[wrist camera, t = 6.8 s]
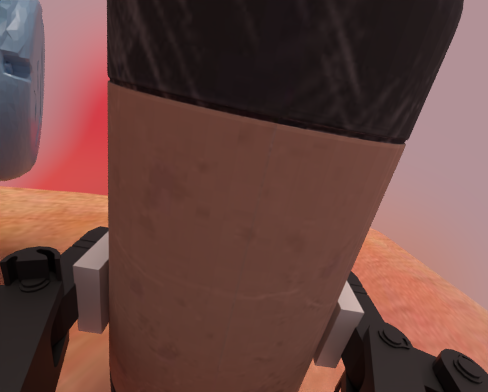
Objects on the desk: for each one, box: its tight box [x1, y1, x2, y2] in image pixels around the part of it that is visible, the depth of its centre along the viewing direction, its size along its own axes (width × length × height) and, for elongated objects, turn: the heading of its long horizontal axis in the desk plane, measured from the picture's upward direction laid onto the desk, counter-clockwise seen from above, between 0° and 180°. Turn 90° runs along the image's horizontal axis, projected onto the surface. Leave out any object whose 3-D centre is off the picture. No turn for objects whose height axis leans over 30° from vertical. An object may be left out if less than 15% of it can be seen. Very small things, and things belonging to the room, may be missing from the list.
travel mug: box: [107, 0, 464, 392], centre depth 10 cm, size 8×8×20 cm
